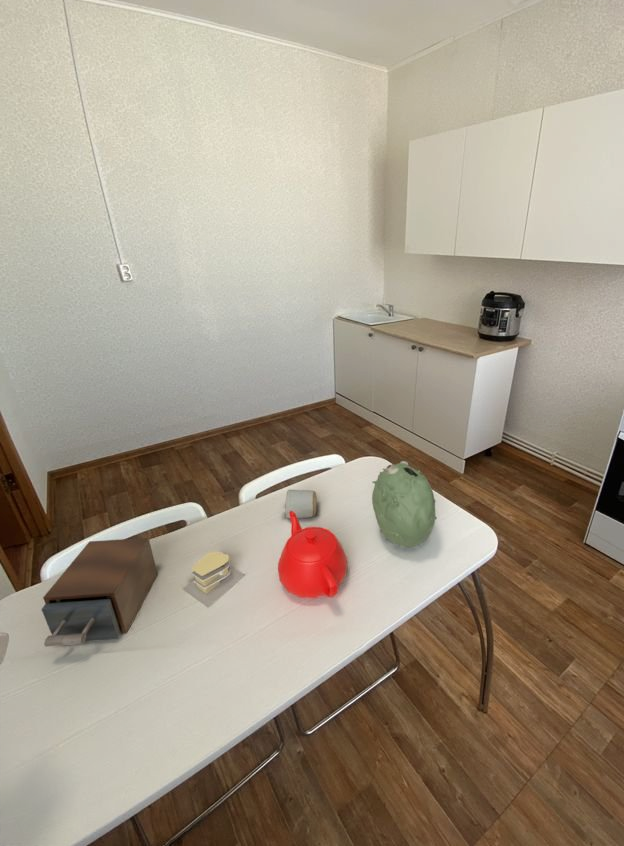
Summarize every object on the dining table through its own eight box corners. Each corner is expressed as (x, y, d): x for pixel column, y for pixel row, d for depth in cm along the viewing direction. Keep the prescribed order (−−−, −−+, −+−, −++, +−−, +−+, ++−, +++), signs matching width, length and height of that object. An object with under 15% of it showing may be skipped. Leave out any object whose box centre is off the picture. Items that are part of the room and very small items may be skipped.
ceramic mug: (316, 522, 104) (315, 498, 102) (286, 524, 104) (284, 500, 101) (317, 499, 114) (316, 477, 112) (289, 501, 114) (287, 478, 111)
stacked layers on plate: (208, 607, 80) (204, 587, 78) (182, 588, 84) (177, 569, 83) (245, 574, 88) (242, 555, 86) (219, 559, 92) (216, 541, 90)
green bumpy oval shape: (402, 574, 87) (404, 501, 80) (358, 528, 102) (356, 462, 95) (451, 547, 95) (457, 478, 88) (404, 507, 110) (406, 445, 103)
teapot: (369, 600, 81) (369, 554, 77) (300, 634, 74) (295, 586, 70) (321, 530, 101) (318, 491, 97) (263, 552, 94) (258, 511, 90)
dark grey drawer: (104, 663, 68) (92, 627, 65) (37, 668, 68) (21, 633, 65) (149, 581, 85) (140, 550, 82) (96, 585, 85) (85, 553, 82)
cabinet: (126, 633, 75) (113, 592, 71) (59, 638, 74) (42, 597, 70) (157, 574, 88) (148, 537, 85) (101, 578, 87) (89, 541, 84)
